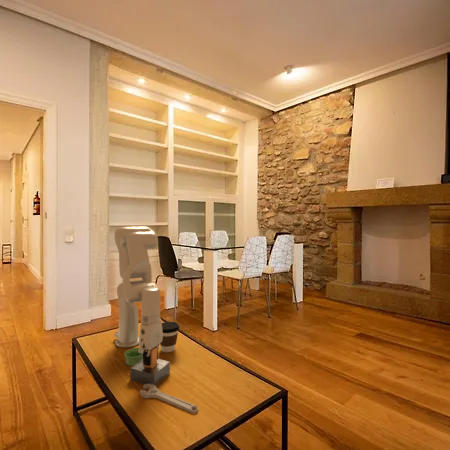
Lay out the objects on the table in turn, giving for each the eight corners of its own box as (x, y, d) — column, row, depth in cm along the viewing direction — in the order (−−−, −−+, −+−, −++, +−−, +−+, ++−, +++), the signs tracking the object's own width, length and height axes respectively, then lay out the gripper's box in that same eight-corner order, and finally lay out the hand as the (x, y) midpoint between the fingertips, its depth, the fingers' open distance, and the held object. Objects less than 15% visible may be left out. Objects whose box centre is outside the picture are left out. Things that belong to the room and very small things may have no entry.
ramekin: (135, 355, 136) (136, 345, 135) (149, 360, 131) (149, 351, 131) (119, 363, 128) (120, 353, 128) (133, 369, 123) (133, 359, 123)
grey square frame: (130, 380, 115) (130, 367, 115) (147, 367, 125) (147, 356, 124) (154, 387, 110) (154, 374, 110) (169, 373, 120) (169, 361, 120)
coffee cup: (171, 342, 149) (171, 319, 149) (183, 349, 141) (184, 325, 141) (152, 349, 141) (152, 325, 141) (164, 357, 134) (165, 331, 133)
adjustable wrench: (199, 411, 98) (199, 406, 98) (187, 422, 93) (187, 417, 93) (148, 386, 112) (149, 381, 112) (135, 394, 106) (135, 389, 106)
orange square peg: (152, 379, 115) (152, 350, 115) (144, 377, 117) (144, 348, 116) (156, 376, 118) (157, 347, 118) (149, 373, 120) (149, 345, 119)
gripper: (144, 326, 107) (144, 374, 108) (170, 313, 123) (169, 354, 124) (129, 323, 110) (129, 370, 111) (155, 310, 126) (155, 351, 126)
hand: (150, 361), depth 117 cm, fingers open, 4 cm apart
